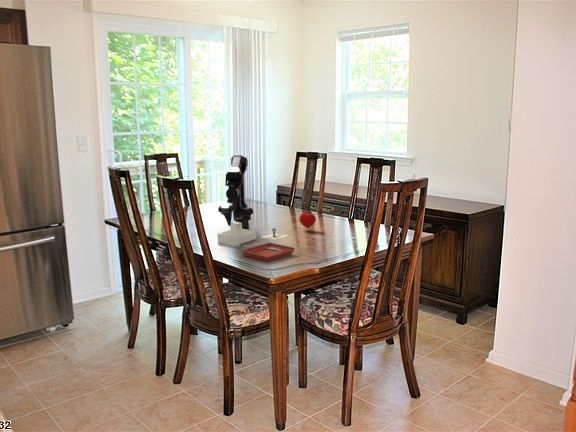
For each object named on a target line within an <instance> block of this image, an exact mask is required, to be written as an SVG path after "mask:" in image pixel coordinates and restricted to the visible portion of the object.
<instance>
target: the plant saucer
mask: <svg viewBox="0 0 576 432" xmlns="http://www.w3.org/2000/svg"><path fill="white" fill-rule="evenodd" d="M272 248H274V249H272ZM295 250H296V248H295V247H292V246H288V245H282V244H278V243H273V242H265V243H263V244H259V245H255V246H251V247H249V248H245V249H242V250H241V252H242V253H243V255H245V256H246V257H250V258H253V259H256V260H260V261H263V262H264V261H265V262H271V261H274V260H278V259H280V258H281V259H282V258H284V257H287V256H291V255H292V253H294V251H295Z"/></svg>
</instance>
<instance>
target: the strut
mask: <svg viewBox="0 0 576 432" xmlns="http://www.w3.org/2000/svg"><path fill="white" fill-rule="evenodd" d="M230 224H231V226H230V229H231V235H234V236H239V235H242V223H240V222H236V221H233V222H231V223H230Z"/></svg>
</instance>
